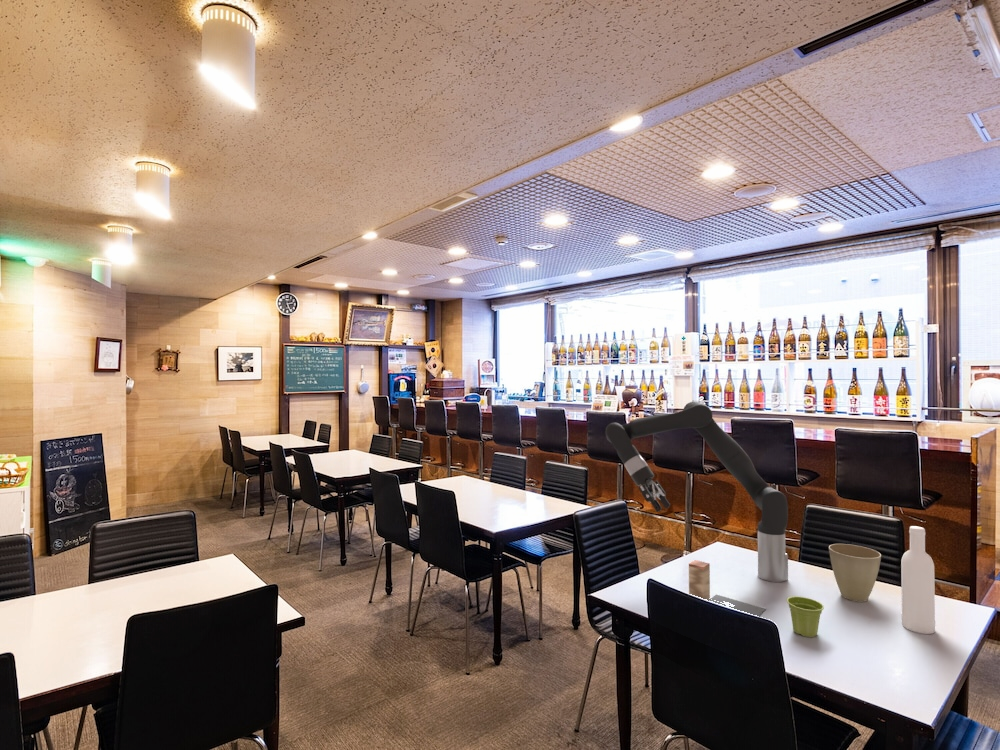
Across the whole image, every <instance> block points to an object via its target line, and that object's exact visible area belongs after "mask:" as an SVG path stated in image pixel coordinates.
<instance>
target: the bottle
mask: <svg viewBox="0 0 1000 750" xmlns="http://www.w3.org/2000/svg"><path fill="white" fill-rule="evenodd" d="M908 533H909V549H908V550H907V551H905V552H904V553H903V555H902V557H901V560H900V561H901V564H900V568H901V571H900V573H901V574H900V575H901V577H900V578H901V579H900V580H901V583H900V584H901V614H900V615H901V625H902V627H904V628H905V629H907V630H909V631H911V632H914V633H917V634H923V635H931V634H933V633H935V631H936V616H935V615H936V607H935V606H936V604H935V603H936V601H935V600H936V599H935V594H936V593H935V592H936V591H935V587H936V586H935V584H936V583H935V563H934V561H933V559H932V557H931V555H930V554H928V553H927V552H926V529H925V528H924V527H921V526H917V525H910V526H909V530H908Z"/></svg>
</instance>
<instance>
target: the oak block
mask: <svg viewBox="0 0 1000 750" xmlns="http://www.w3.org/2000/svg"><path fill="white" fill-rule="evenodd" d="M710 566H711V565H710V563H709V562H705V561H700V560H697V559H694V560H692V561H691V562H689V563H688V595H689V594H692V595H695V596H698V597H701V598H703V599H707V600H709V598H710V599H711V590H710V589H711V585H710V584H711V581H710V580H711V577H710V572H711V571H710Z"/></svg>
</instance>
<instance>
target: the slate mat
mask: <svg viewBox="0 0 1000 750" xmlns="http://www.w3.org/2000/svg"><path fill="white" fill-rule="evenodd" d="M711 599H712V600H711ZM709 600H710V601H713V602H715V603H718V604H722V603H724V602H723V601H725V602H729V603H731V604H733V605H735V606H734V607H731V606H729V607H731V608H734V609H737V610H740V611H744V612H747V613H750V614H753V615H757V616H759V617H760V616H761V615H762V614H763V613H764V612H765V611H766V610H767V608H765V607H761V606H759V605H756V604H755V605H754V604H751V603H748V602H744V601H740V600H737V599H733V598H730V597H726V596H723V595H720V594H715V595H713V596H712V597H710V599H709ZM714 600H716V601H714ZM717 601H719V602H717ZM720 602H722V603H720ZM722 605H724V606H726V605H725V604H722ZM729 605H730V604H729Z"/></svg>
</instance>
